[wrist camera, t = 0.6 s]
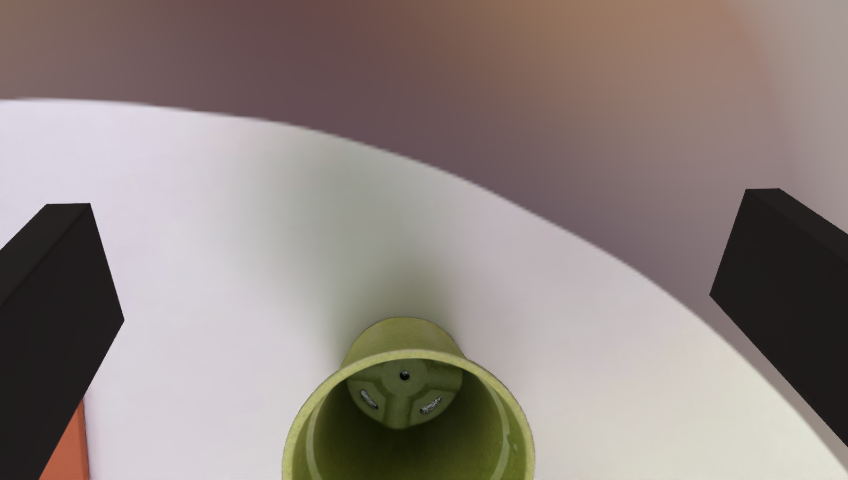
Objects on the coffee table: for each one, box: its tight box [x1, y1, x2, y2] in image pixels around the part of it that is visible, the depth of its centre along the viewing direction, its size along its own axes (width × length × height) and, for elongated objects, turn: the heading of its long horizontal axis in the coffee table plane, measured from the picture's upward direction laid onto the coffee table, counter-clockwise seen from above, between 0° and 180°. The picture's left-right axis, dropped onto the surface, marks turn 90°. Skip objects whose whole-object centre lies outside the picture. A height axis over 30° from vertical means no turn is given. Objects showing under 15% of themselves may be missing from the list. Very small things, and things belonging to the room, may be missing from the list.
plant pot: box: [282, 317, 535, 480], centre depth 25 cm, size 9×9×9 cm
